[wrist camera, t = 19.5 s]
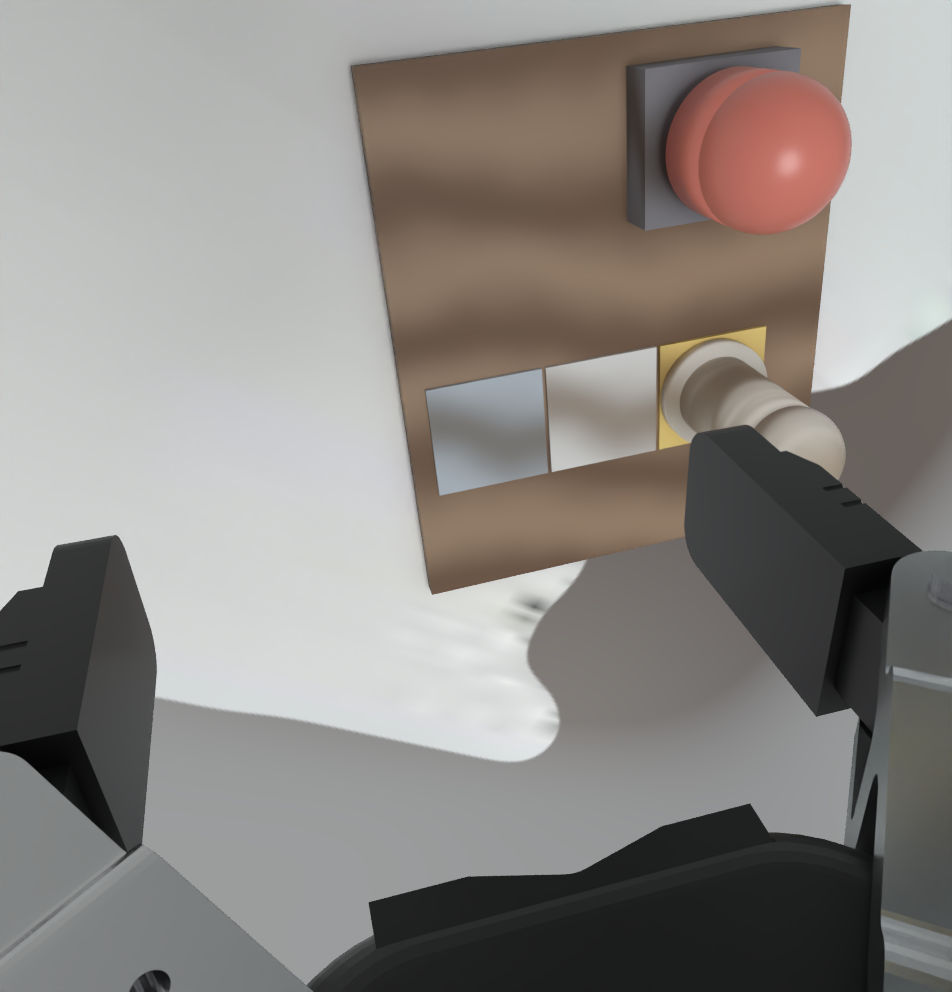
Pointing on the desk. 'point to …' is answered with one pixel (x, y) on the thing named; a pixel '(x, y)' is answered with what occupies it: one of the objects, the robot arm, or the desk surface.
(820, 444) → the pawn
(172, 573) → the desk surface
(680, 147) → the dome
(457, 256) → the game board
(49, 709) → the robot arm
